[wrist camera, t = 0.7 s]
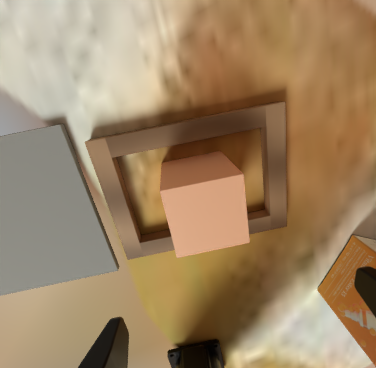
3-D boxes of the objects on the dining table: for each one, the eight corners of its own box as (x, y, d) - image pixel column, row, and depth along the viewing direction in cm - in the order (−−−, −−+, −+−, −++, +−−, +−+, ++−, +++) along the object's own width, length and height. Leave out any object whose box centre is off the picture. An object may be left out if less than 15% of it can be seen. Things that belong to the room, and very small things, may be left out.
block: (226, 202, 20) (249, 242, 15) (174, 213, 20) (176, 258, 15) (220, 150, 18) (243, 173, 13) (161, 162, 18) (159, 191, 13)
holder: (280, 219, 21) (286, 226, 20) (129, 251, 21) (127, 259, 20) (277, 101, 17) (285, 101, 16) (90, 139, 17) (84, 142, 16)
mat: (119, 266, 22) (118, 270, 21) (-1, 291, 22) (-6, 296, 21) (63, 123, 16) (59, 124, 16) (-97, 155, 16) (-106, 157, 16)
